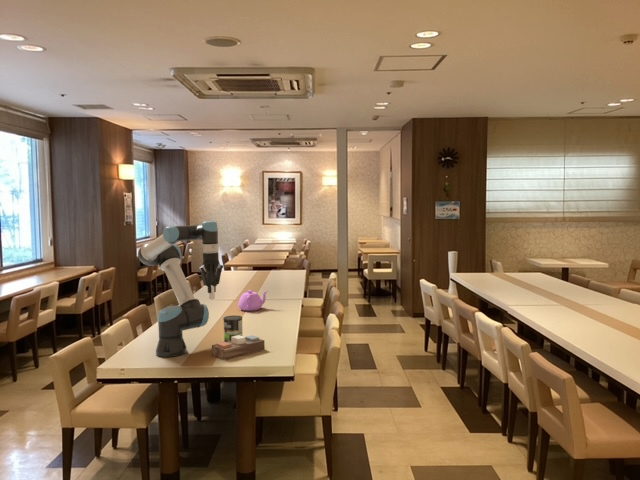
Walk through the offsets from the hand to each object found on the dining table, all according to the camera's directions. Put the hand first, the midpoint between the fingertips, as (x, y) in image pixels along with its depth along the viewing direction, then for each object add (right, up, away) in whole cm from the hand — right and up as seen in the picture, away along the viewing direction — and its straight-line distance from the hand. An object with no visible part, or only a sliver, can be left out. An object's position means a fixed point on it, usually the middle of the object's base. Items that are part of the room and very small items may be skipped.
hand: (212, 299), depth 252 cm
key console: (+13, -28, +5) cm, 31 cm away
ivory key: (+12, -23, +5) cm, 27 cm away
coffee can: (+7, -27, +23) cm, 36 cm away
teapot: (+7, -20, +108) cm, 111 cm away
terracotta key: (+6, -25, -1) cm, 26 cm away
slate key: (+19, -24, +11) cm, 32 cm away
